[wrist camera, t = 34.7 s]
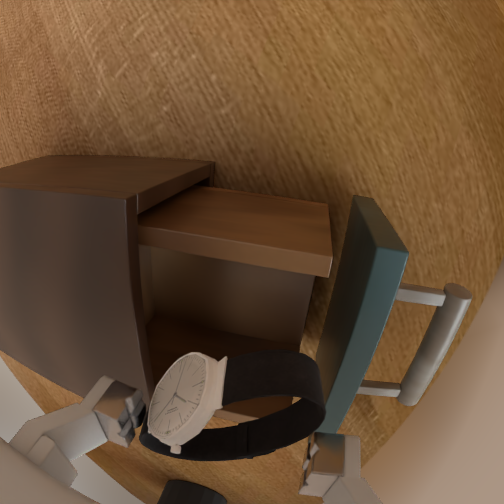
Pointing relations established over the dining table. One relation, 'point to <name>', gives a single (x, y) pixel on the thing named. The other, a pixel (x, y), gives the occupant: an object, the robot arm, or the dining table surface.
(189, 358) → the watch
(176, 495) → the vase
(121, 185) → the cabinet
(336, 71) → the dining table surface
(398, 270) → the drawer
